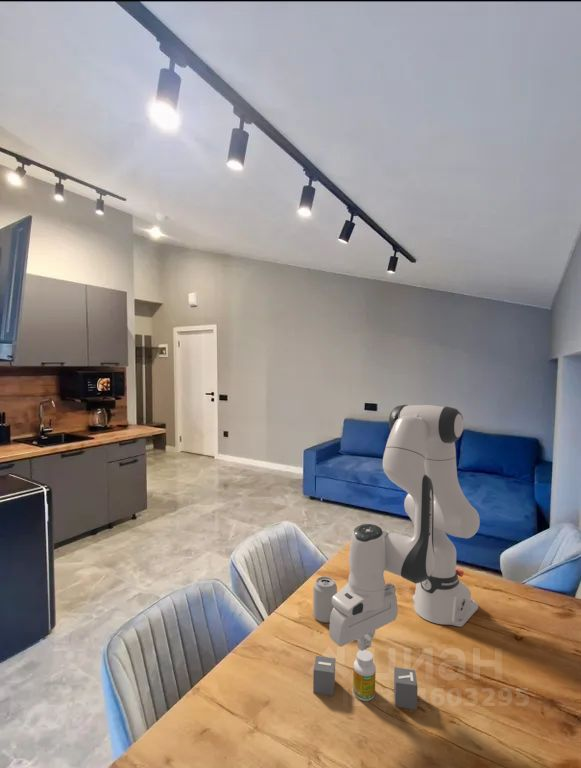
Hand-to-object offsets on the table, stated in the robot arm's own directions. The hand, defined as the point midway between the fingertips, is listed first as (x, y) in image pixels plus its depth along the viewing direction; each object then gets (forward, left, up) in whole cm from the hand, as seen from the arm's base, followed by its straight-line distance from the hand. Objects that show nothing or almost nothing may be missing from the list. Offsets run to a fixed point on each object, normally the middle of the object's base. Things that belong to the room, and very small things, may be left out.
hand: (364, 647), depth 101 cm
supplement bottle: (0, 0, -12) cm, 12 cm away
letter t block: (-7, +7, -12) cm, 16 cm away
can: (-11, -29, -12) cm, 33 cm away
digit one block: (+7, -7, -12) cm, 15 cm away
